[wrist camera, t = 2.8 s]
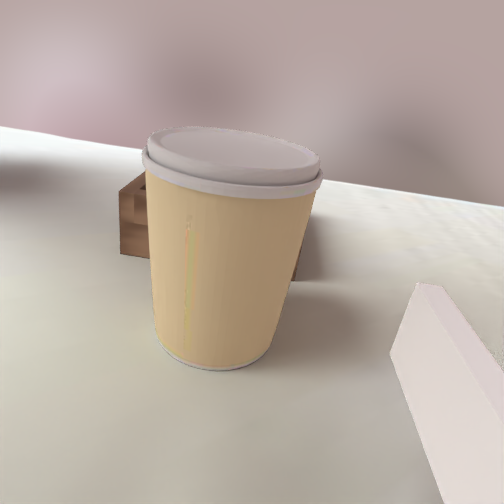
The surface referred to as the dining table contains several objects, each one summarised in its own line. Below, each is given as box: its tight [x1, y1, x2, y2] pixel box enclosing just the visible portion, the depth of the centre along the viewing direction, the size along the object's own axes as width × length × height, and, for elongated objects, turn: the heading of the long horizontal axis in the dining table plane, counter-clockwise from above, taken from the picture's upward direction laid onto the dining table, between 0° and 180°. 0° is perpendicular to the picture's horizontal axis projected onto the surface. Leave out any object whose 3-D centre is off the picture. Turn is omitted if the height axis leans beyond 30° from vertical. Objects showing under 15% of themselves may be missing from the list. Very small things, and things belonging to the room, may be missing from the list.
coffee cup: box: [142, 127, 323, 371], centre depth 22 cm, size 9×9×12 cm
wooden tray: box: [119, 171, 304, 281], centre depth 37 cm, size 15×15×6 cm
